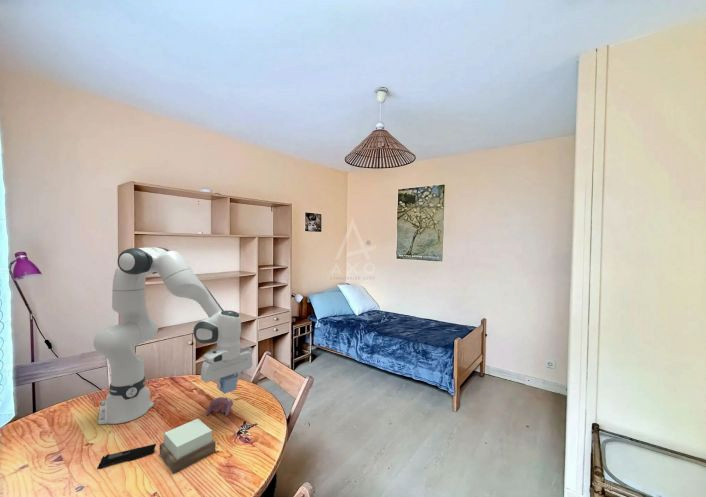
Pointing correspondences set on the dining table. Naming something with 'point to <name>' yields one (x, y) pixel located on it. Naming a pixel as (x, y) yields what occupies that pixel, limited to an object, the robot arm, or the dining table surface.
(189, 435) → the sage slab
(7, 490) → the dining table surface
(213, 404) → the video game controller
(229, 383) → the blue cube
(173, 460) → the walnut slab
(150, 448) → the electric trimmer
